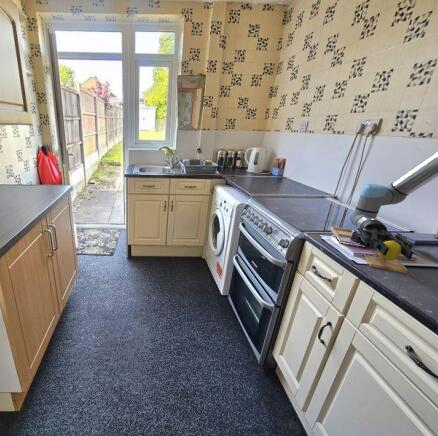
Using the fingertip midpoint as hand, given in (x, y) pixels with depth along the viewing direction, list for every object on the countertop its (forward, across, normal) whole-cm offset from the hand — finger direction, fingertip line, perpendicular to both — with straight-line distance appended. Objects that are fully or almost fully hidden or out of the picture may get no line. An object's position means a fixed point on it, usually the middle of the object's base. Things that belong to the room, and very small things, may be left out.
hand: (398, 253), depth 80 cm
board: (-5, 0, -7) cm, 8 cm away
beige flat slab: (-26, +6, -7) cm, 28 cm away
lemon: (-5, 0, -6) cm, 8 cm away
